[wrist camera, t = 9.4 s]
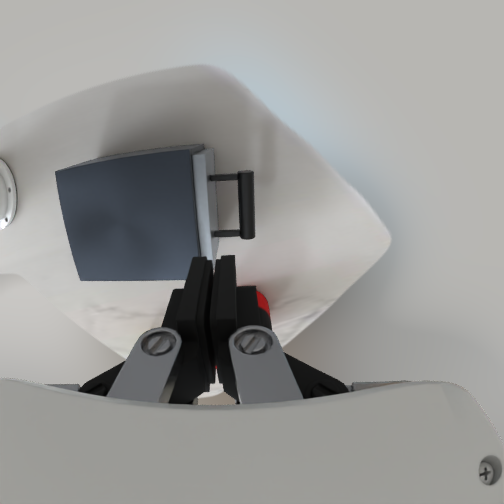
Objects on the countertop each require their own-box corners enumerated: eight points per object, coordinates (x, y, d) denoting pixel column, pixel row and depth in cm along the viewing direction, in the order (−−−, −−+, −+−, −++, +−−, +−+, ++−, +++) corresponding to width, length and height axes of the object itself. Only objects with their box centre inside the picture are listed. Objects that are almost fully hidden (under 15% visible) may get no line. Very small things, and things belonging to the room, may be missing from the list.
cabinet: (204, 143, 30) (189, 149, 22) (211, 241, 36) (202, 279, 27) (96, 158, 30) (54, 171, 21) (111, 246, 35) (80, 281, 27)
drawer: (251, 146, 30) (254, 151, 23) (253, 238, 35) (257, 268, 28) (108, 160, 29) (76, 171, 22) (122, 244, 34) (97, 272, 27)
